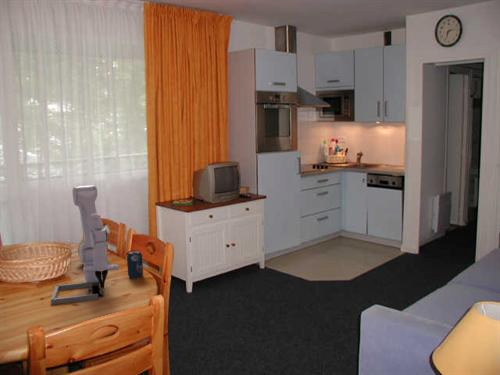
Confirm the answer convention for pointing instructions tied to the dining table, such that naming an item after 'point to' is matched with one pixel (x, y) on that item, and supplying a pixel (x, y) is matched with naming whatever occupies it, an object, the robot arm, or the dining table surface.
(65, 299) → the truck bay
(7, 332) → the dining table surface
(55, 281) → the dining table surface
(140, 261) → the soda can
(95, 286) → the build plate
